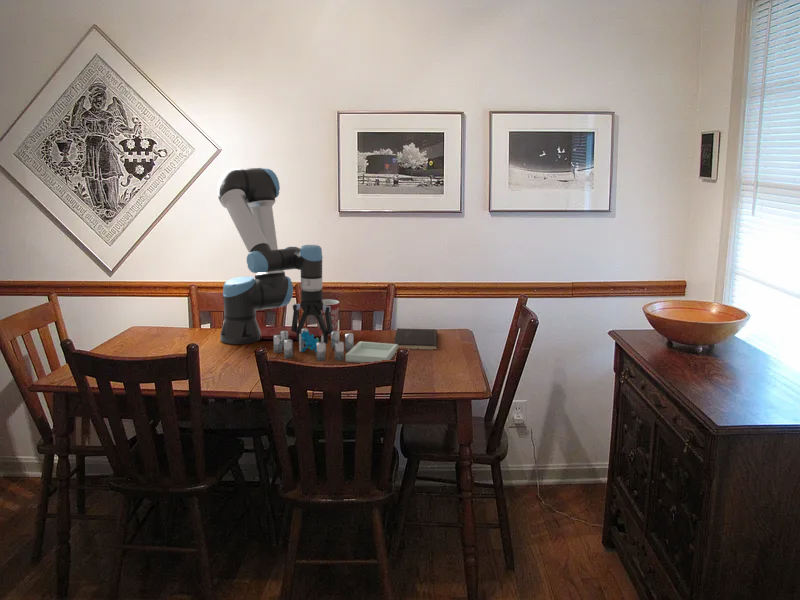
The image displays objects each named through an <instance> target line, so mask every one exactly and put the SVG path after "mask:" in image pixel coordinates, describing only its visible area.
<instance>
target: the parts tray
mask: <svg viewBox="0 0 800 600" xmlns="http://www.w3.org/2000/svg"><path fill="white" fill-rule="evenodd" d="M397 349H398V344H394V343H387V342H384V343H383V342H373V341H362V340H361V341H360V340H359V341H358V342H357V343H356V344H354V345H353V348H352V349H351V350H350V351H347V352H346V354H345V362H346V363H347V362H348V363H349V362H350V363H360V364H365V363H364V362H375V361H382V360H390V361H391V360H392V358H393V357H395V355H396V354H397V352H396V350H397ZM398 350H399V349H398ZM395 353H396V354H395Z"/></svg>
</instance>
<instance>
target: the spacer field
mask: <svg viewBox="0 0 800 600" xmlns="http://www.w3.org/2000/svg"><path fill="white" fill-rule="evenodd" d="M303 331H306V332H307V331H308V332H309V329H308V328H306V327H305V328H304V327H303V329H302V331H301V332H303ZM272 336H273V337H272V338H273V339H272V341H273V353H275V354H281V353H283V357H284V359H293V358H294V356H293V355H294V352H293V350H294V349H293V347H294V346H293V341H294V340H293V339H290V338H289V331H288V330H281V331H279V334H273V335H272ZM344 338H345V339H344V341H340V331H339V330H337V331H333V332H332V333H331V338H330V348H331V349H334V360H335V361H336V362H337V361H340V362H341V361H344V359H345V358H344V357H345V356H344V355H345V354H344V351H346V352H349V351H350V350H351V349H352V348H353V347H354V333H352V332H346V333H345V334H344ZM305 343H306V341H304V347H306V346H307V345H306V344H305ZM316 344H317V353H316V361H318V362H324V361H326V352H325V342H321V341H319V342H317V343H316ZM344 344H345V345H344ZM344 347H345V348H344Z"/></svg>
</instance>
